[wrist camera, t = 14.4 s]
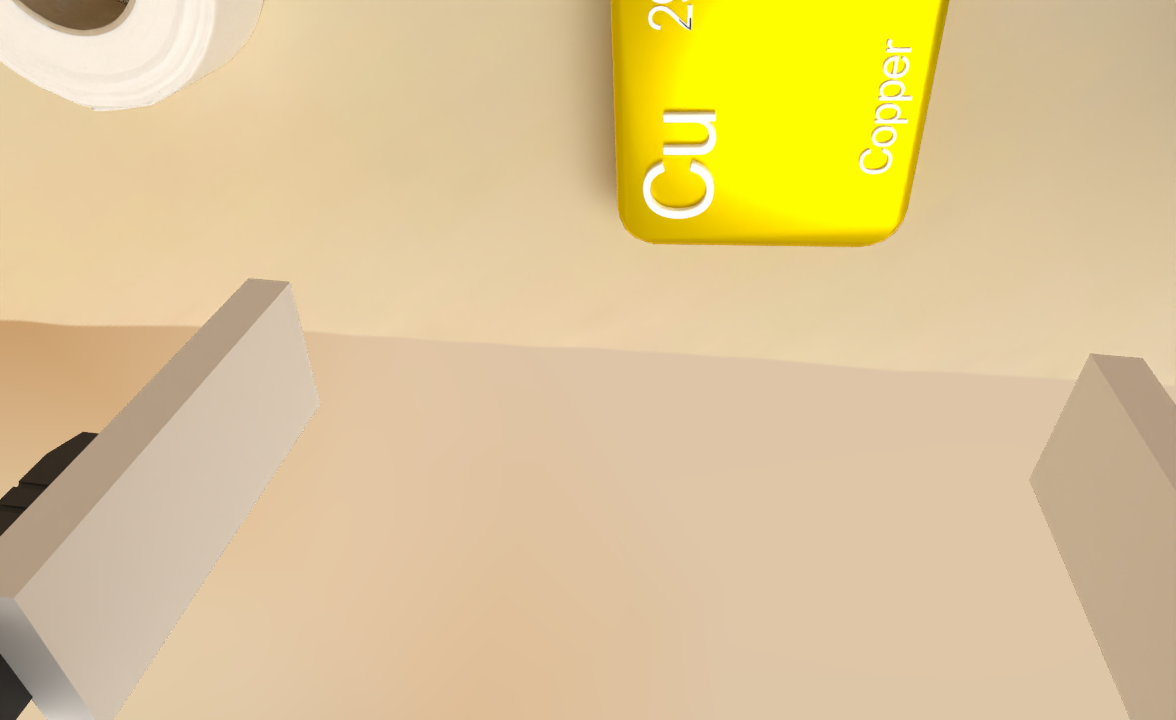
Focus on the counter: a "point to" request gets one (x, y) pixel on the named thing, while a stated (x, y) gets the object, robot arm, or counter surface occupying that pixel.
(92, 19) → the roll of tape
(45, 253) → the counter surface
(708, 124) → the element tile
